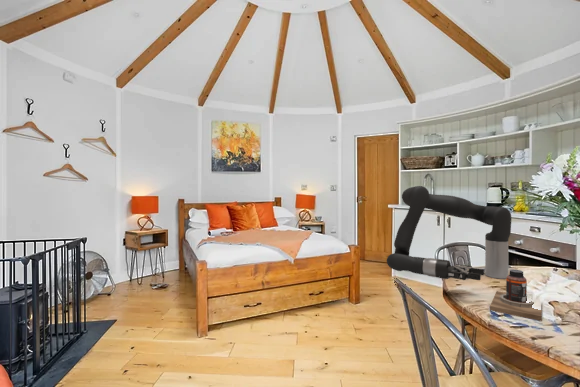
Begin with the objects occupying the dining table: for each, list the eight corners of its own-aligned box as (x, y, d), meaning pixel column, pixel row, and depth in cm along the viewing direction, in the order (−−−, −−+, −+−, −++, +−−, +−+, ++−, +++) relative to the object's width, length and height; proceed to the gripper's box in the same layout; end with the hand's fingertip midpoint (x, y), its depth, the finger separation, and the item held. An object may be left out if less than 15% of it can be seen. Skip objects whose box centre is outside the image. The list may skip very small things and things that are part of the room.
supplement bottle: (530, 305, 108) (530, 273, 108) (511, 304, 110) (511, 272, 109) (521, 299, 114) (521, 268, 114) (503, 298, 115) (503, 268, 115)
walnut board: (496, 294, 124) (496, 287, 124) (541, 302, 115) (541, 295, 115) (489, 310, 108) (490, 302, 108) (541, 320, 100) (541, 312, 100)
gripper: (431, 262, 123) (479, 269, 113) (441, 256, 134) (485, 261, 124) (431, 281, 123) (479, 289, 113) (440, 273, 134) (485, 280, 124)
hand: (482, 274), depth 118 cm, fingers open, 8 cm apart
